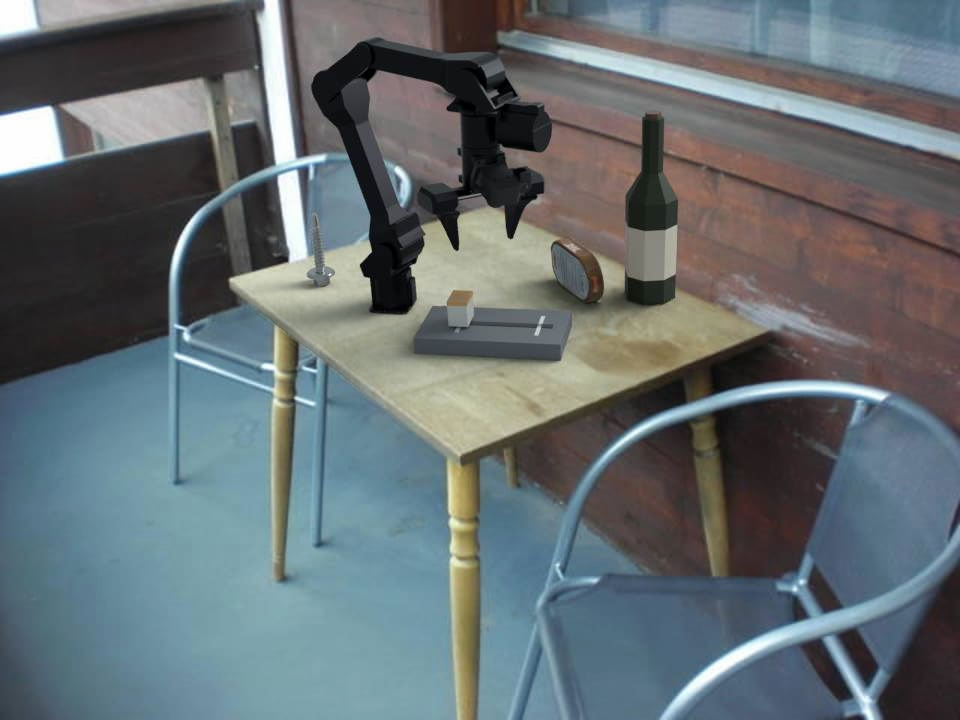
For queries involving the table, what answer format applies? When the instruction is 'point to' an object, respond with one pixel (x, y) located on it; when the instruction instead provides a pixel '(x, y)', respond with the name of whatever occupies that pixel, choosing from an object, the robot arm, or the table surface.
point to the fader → (460, 308)
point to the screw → (318, 256)
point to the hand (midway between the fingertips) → (483, 244)
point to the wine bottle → (651, 223)
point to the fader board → (496, 333)
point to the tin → (577, 270)
